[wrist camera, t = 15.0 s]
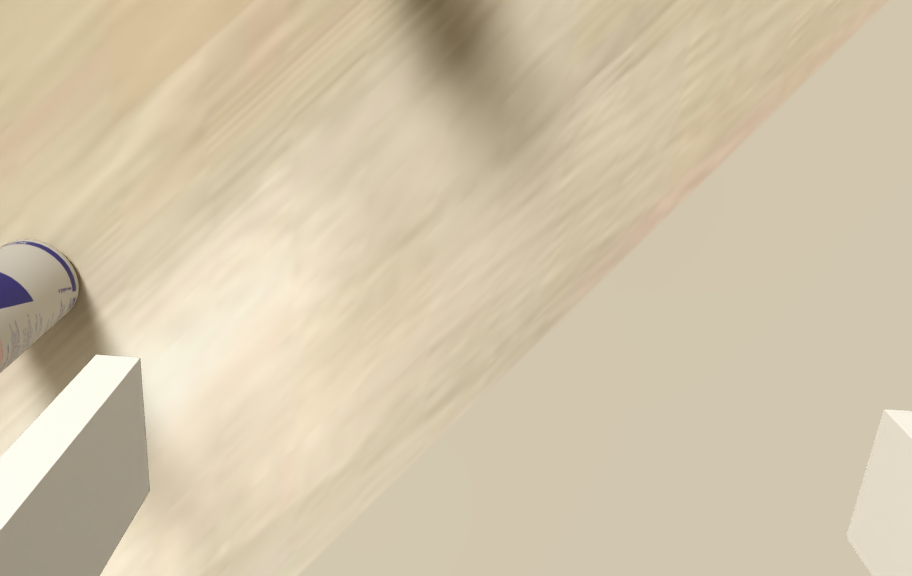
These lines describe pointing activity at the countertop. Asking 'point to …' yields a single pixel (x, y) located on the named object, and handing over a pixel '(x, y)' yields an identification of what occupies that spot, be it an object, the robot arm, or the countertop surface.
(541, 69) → the countertop surface
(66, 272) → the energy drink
